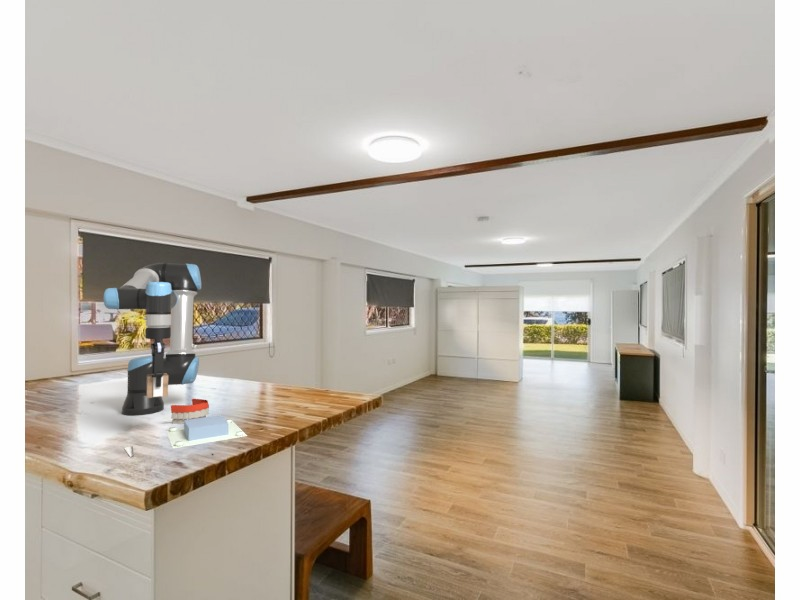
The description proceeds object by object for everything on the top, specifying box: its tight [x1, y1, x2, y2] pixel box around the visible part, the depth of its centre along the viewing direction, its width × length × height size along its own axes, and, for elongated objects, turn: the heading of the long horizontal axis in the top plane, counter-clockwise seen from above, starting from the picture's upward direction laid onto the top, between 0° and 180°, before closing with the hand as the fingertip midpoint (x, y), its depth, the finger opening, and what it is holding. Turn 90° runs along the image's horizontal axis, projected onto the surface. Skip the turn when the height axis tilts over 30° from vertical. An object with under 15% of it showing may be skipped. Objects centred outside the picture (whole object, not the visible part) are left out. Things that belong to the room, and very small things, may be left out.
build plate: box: [165, 419, 248, 449], centre depth 139 cm, size 22×22×2 cm
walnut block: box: [146, 373, 169, 398], centre depth 139 cm, size 6×6×7 cm
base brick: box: [183, 414, 229, 441], centre depth 139 cm, size 12×12×4 cm
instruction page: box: [123, 445, 135, 458], centre depth 125 cm, size 10×7×1 cm
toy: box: [170, 398, 210, 425], centre depth 155 cm, size 12×10×8 cm
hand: (157, 394), depth 139 cm, fingers closed on walnut block, 6 cm apart
